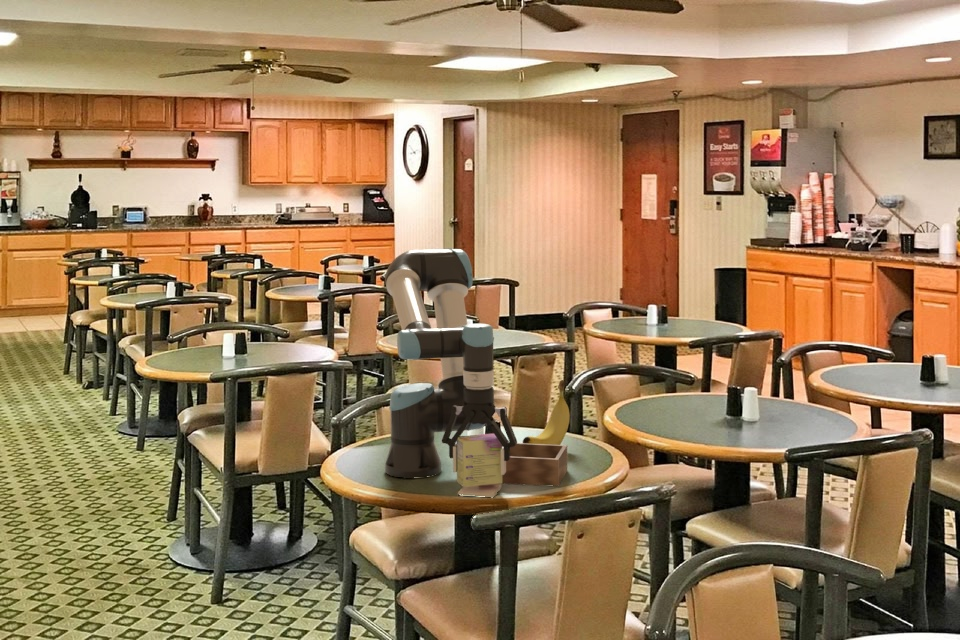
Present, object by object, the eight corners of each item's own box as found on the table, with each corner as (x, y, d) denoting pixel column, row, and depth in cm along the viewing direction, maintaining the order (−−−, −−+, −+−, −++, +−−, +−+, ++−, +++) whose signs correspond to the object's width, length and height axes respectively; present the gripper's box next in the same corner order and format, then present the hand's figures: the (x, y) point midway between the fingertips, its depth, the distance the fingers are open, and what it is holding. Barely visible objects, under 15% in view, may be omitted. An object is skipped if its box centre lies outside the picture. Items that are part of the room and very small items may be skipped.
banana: (534, 465, 294) (533, 393, 291) (516, 462, 297) (515, 391, 294) (574, 447, 312) (574, 379, 310) (556, 444, 316) (556, 378, 313)
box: (495, 477, 274) (495, 432, 272) (502, 483, 268) (502, 437, 267) (456, 481, 270) (455, 435, 269) (463, 488, 265) (462, 441, 263)
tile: (458, 496, 266) (458, 492, 266) (466, 485, 275) (466, 482, 275) (493, 498, 264) (493, 494, 264) (501, 487, 273) (501, 484, 273)
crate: (478, 482, 278) (477, 455, 277) (490, 466, 293) (490, 441, 292) (558, 486, 273) (558, 459, 273) (567, 470, 288) (567, 445, 287)
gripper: (428, 387, 265) (429, 473, 268) (522, 391, 260) (523, 478, 263) (436, 382, 272) (437, 465, 275) (528, 385, 267) (529, 470, 270)
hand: (479, 472), depth 269 cm, fingers closed on box, 11 cm apart
